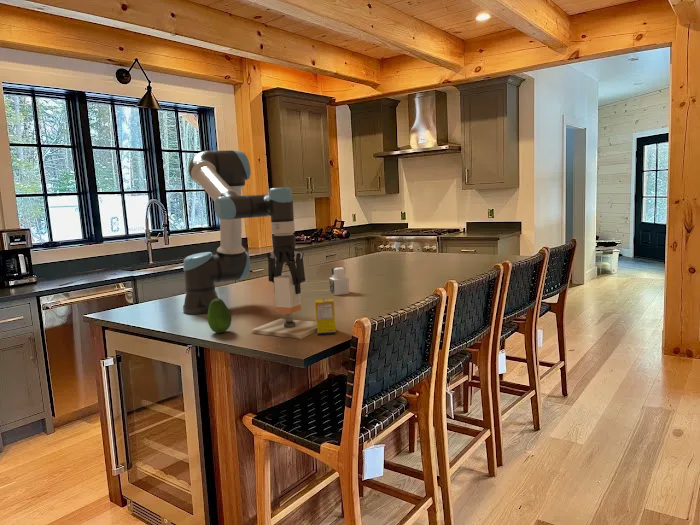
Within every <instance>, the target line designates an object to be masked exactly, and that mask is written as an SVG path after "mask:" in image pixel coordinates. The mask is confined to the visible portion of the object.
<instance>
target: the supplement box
mask: <svg viewBox="0 0 700 525" xmlns="http://www.w3.org/2000/svg"><path fill="white" fill-rule="evenodd" d="M335 315H336V313H335V300H334V297H330V298H316V299H315V316H316V319H315V320H316V322H317V331H316V333H317V336H324V335H336V330H337V329H336V316H335Z"/></svg>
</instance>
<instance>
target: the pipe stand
mask: <svg viewBox="0 0 700 525" xmlns="http://www.w3.org/2000/svg"><path fill="white" fill-rule="evenodd" d="M284 314H285V315H284V316H285V318H278V319H276V320H273V321H270V322H267V323H265V324H263V325H259V326H258V327H255V328H253V329H251V334H256V335H265V336H274V337H282V338H293V339H299V340H300V339H303V338H306V337H307V336H310V335H311V334H314V333H317V321H312V320H311V321H309V320H301V319H300V320H299V319H294V317H293V316H294V315H293V314H294V313H292V314H287V313H284Z"/></svg>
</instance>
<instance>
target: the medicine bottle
mask: <svg viewBox="0 0 700 525" xmlns="http://www.w3.org/2000/svg"><path fill="white" fill-rule="evenodd" d="M349 279H350V278H348V277H347V276H346V267H344V266H335V267H332V268H331V277H329V291H330V292H329V293H330V294H332V295H333V296H340V295H341V296H342V295H349V294H350V281H349Z"/></svg>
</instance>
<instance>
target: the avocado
mask: <svg viewBox="0 0 700 525" xmlns="http://www.w3.org/2000/svg"><path fill="white" fill-rule="evenodd" d="M206 317H207V324H208V326H209V329H211V331H212V332H214V333H216V334H221V333H225V332H226V331H228V330H229V328H230V327H231V324H232V313H231V312H230V309H229V308H228V307H227V304H226V303H225V302H224V301H223V299H221V298H219V297H218V298H216V299H213V300H212V301H211V303H210V305H209V310H208V313H207V316H206Z"/></svg>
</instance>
